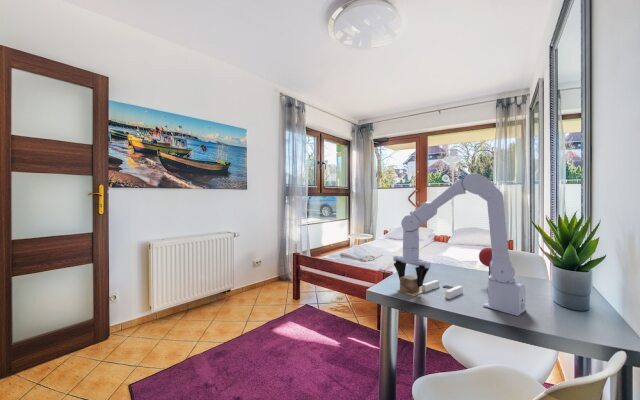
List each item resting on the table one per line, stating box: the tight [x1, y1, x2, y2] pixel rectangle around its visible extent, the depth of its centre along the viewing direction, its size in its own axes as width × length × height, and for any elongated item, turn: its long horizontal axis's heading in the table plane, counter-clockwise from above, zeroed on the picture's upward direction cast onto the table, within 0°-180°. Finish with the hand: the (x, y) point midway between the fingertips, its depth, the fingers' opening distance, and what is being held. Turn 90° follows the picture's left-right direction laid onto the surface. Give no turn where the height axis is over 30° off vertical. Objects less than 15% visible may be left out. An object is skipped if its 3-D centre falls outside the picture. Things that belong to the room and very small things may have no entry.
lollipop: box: [478, 247, 492, 276], centre depth 110 cm, size 8×8×15 cm
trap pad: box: [442, 284, 455, 290], centre depth 104 cm, size 6×3×1 cm, turn 38°
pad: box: [396, 288, 425, 297], centre depth 100 cm, size 7×7×1 cm
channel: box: [421, 279, 464, 300], centre depth 100 cm, size 10×10×2 cm
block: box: [399, 274, 420, 294], centre depth 100 cm, size 5×5×5 cm
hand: (410, 283), depth 100 cm, fingers open, 7 cm apart
